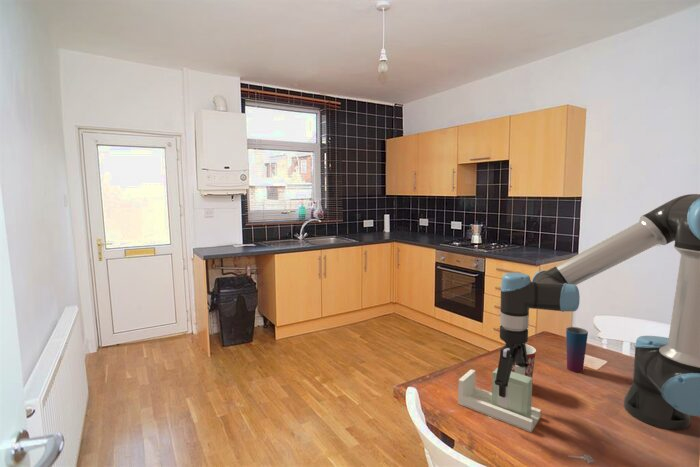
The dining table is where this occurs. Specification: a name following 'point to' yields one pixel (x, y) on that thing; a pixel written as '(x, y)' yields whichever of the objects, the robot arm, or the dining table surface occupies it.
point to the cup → (576, 348)
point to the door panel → (515, 393)
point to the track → (483, 404)
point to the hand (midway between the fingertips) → (511, 396)
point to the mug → (530, 362)
